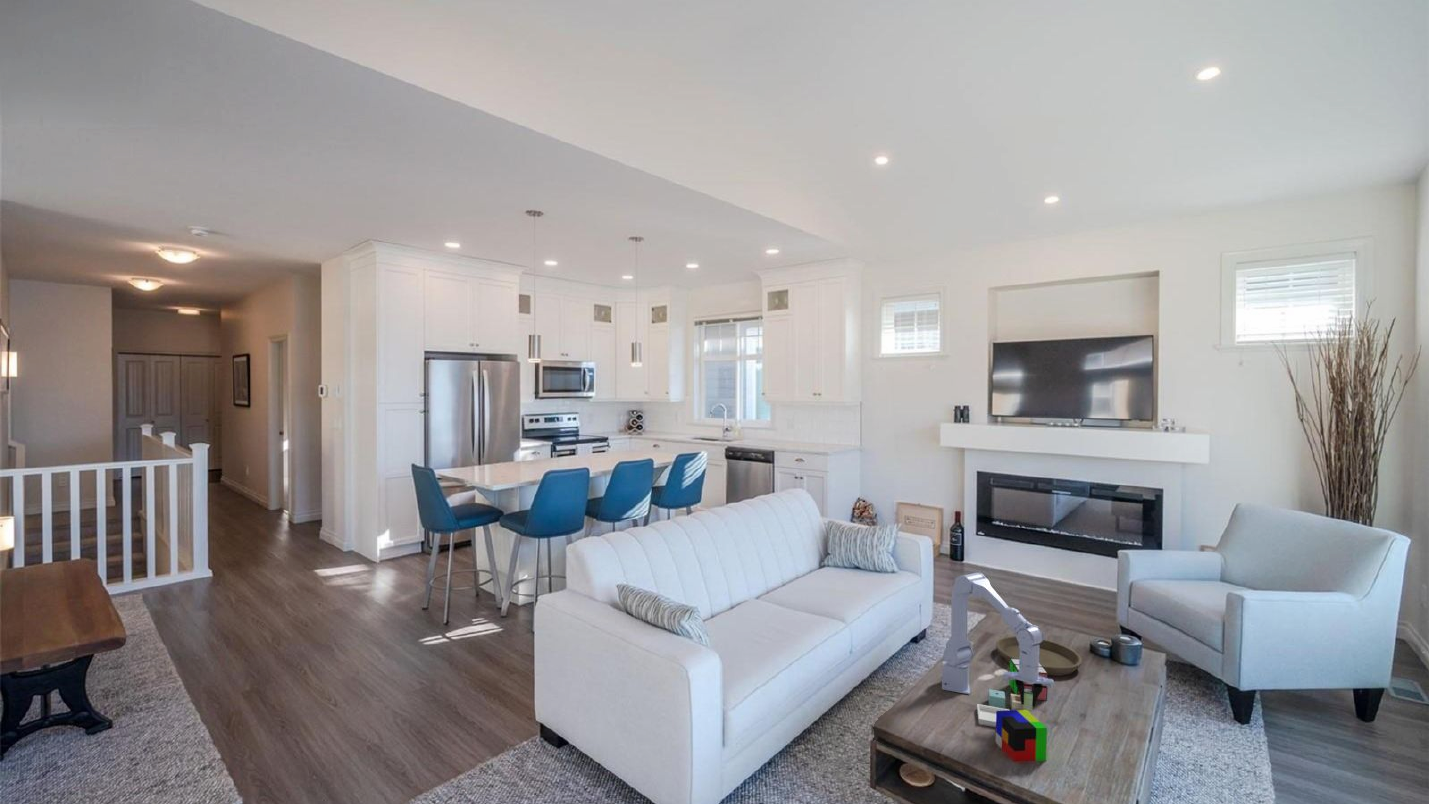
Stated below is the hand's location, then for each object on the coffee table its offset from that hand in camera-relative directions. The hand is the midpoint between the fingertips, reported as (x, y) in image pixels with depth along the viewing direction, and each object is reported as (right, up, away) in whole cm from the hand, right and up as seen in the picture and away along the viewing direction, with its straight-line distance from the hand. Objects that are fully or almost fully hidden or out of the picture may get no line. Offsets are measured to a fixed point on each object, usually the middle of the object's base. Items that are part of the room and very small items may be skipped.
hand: (1027, 704), depth 199 cm
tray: (-10, -7, +3) cm, 12 cm away
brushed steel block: (0, -4, 0) cm, 3 cm away
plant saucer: (+29, -7, +47) cm, 56 cm away
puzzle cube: (+11, -7, +21) cm, 25 cm away
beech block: (+2, -7, +8) cm, 11 cm away
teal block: (-4, -7, +12) cm, 15 cm away
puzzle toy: (-10, -7, -15) cm, 19 cm away
